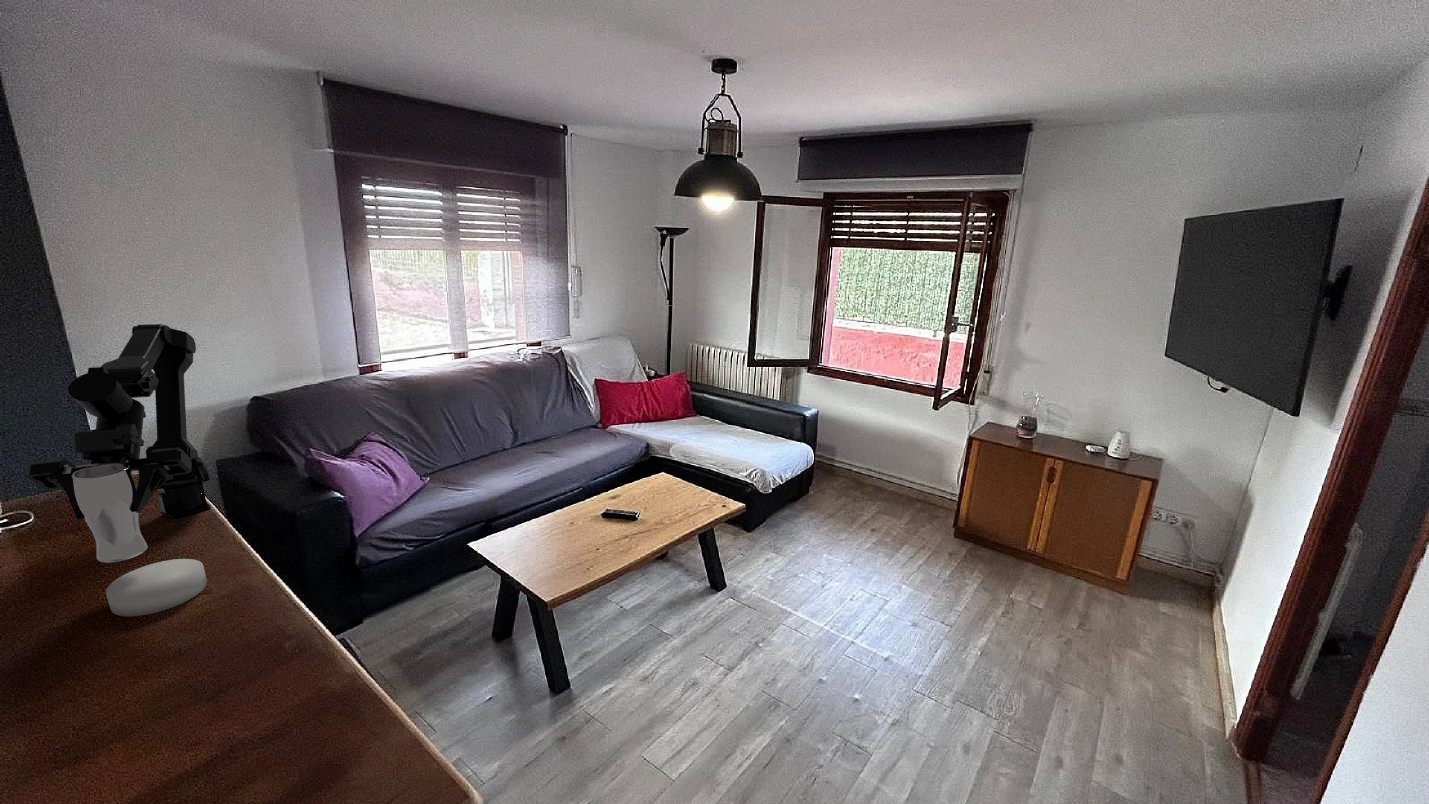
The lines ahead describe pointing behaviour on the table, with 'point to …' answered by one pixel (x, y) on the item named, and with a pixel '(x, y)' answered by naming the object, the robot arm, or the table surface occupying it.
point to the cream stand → (156, 587)
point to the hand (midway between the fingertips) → (108, 515)
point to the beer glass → (110, 510)
